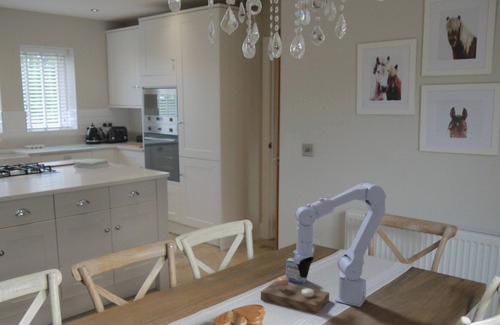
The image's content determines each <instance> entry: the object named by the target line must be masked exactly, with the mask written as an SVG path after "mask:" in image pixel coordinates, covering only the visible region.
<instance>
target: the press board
mask: <svg viewBox="0 0 500 325" xmlns="http://www.w3.org/2000/svg"><path fill="white" fill-rule="evenodd" d="M303 289H312V290H313V291H314V296H313V297H311V298H306V297H303V296H302V290H303ZM260 300H262V301H265V302H269V303H273V304H277V305H281V306H285V307H287V308H288V307H289V308H293V309H296V310H297V309H298V310H302V311H306V312H309V313H313V314H318V313H319V312H320V311H321V310H322V309H323V308H324V307H325V306H326V305H327V303H329V301H330V292H328V291H325V290H320V289H315V288H311V287H310V288H309V287H305V286H302V285H296V284H292V283H289V284H288V285H286V290H284V291H282V290H279V284H277V280H274V281H273V282H272V283H270V284H269V285H268V286H267V287H265V288H264V289H263V290H261V291H260Z"/></svg>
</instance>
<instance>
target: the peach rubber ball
mask: <svg viewBox="0 0 500 325" xmlns="http://www.w3.org/2000/svg"><path fill="white" fill-rule="evenodd" d="M276 281H277V284H279V290H282V291H284V290H286V285H288V284H290V281H289V279H288V278H287V277H286V276H279V277H277V278H276Z"/></svg>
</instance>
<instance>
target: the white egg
mask: <svg viewBox="0 0 500 325" xmlns="http://www.w3.org/2000/svg"><path fill="white" fill-rule="evenodd" d="M312 289H313V288H311V289H303V290H302V296H303V297H306V298H311V297H313V296H314V291H313V290H312Z"/></svg>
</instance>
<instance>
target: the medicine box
mask: <svg viewBox="0 0 500 325" xmlns="http://www.w3.org/2000/svg"><path fill="white" fill-rule="evenodd" d="M293 261H294V257H288V258H287V260H285V277H287V278H288V279H289V282H291V283H296V284H302V285H304V283H306V282H307V281H308V277H307V278H302V277H300V273H299V269H298V266H297V264H295V263H293Z"/></svg>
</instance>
